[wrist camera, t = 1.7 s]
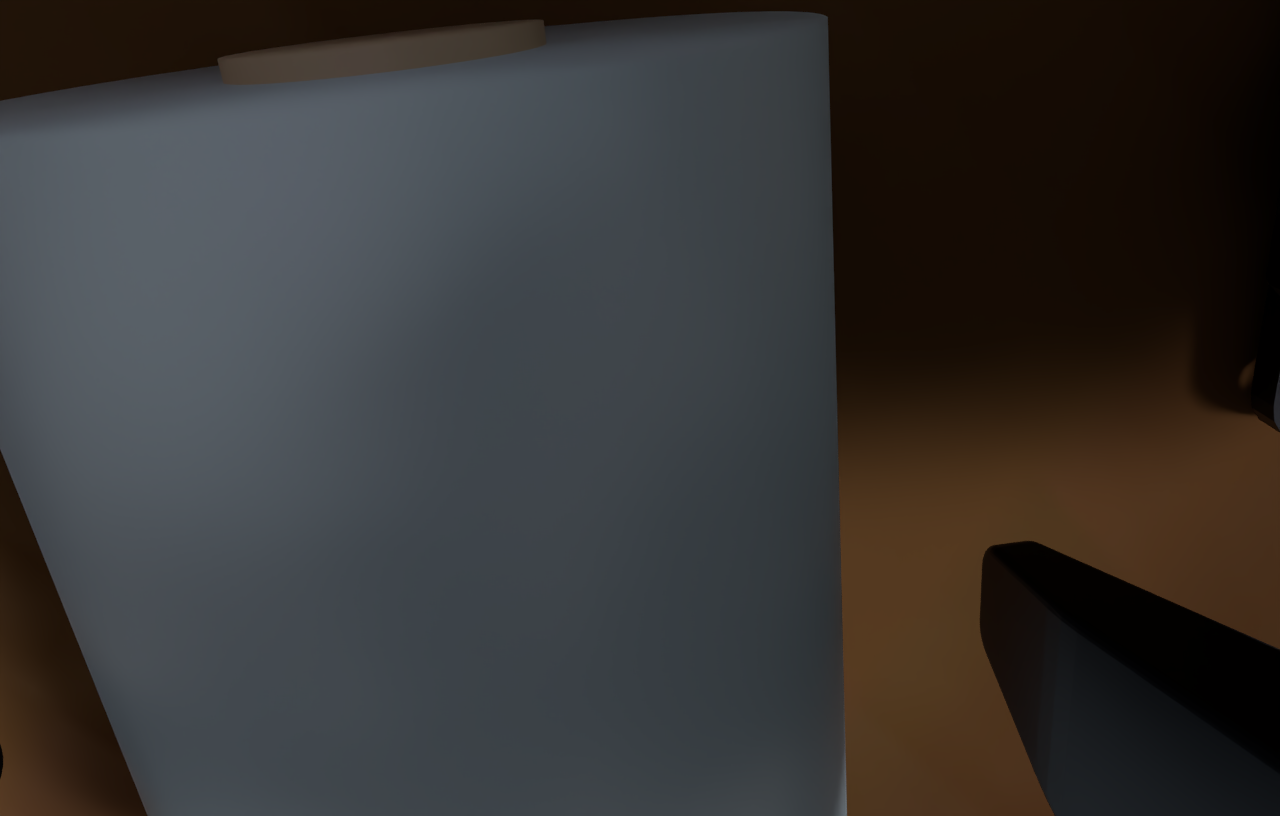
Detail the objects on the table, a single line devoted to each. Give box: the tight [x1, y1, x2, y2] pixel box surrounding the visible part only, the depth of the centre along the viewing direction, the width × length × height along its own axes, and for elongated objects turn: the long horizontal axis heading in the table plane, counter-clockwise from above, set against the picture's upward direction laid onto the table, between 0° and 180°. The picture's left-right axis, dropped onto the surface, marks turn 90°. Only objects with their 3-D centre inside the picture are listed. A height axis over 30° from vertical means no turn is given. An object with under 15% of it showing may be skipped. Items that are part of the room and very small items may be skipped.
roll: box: [0, 11, 847, 816], centre depth 9 cm, size 10×6×6 cm, turn 6°
